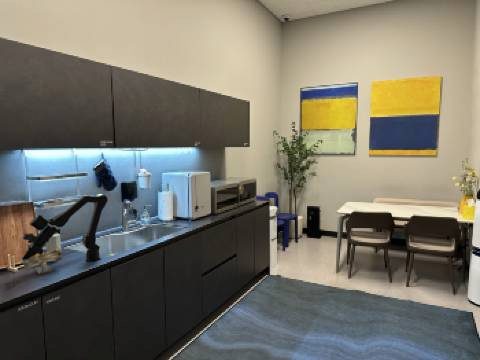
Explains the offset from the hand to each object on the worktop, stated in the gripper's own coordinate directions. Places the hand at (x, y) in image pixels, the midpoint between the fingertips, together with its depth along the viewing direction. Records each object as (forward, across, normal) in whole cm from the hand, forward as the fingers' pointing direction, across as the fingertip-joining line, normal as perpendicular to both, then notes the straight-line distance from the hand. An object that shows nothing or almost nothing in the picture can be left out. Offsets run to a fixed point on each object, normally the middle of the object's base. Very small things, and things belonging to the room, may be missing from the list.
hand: (22, 259), depth 177 cm
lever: (-4, 0, +10) cm, 11 cm away
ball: (-3, 0, +4) cm, 5 cm away
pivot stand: (-1, 0, +12) cm, 12 cm away
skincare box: (-6, -18, +18) cm, 26 cm away
